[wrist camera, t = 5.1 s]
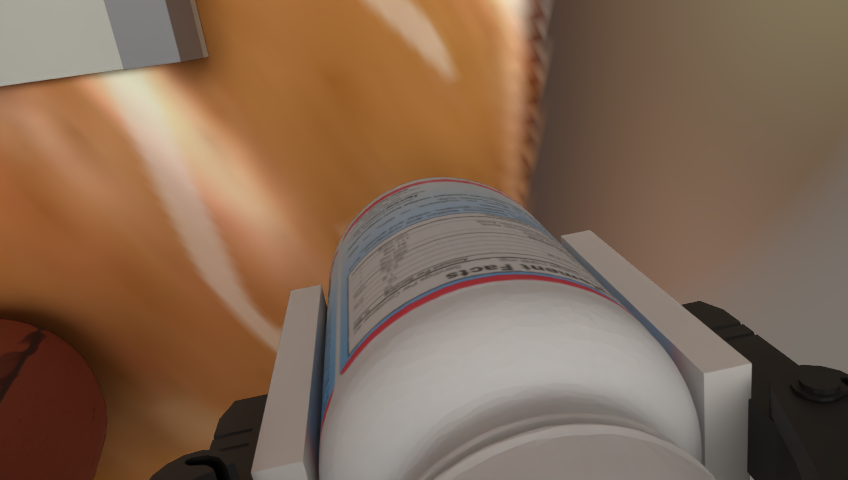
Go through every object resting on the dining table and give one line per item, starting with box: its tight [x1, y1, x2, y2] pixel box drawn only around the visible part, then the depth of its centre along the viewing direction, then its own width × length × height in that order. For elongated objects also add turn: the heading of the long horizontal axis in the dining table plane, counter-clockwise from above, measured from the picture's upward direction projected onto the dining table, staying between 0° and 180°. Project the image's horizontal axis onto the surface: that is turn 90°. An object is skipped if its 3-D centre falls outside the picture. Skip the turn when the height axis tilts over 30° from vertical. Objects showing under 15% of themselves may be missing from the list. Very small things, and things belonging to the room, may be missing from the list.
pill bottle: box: [319, 177, 716, 480], centre depth 12 cm, size 6×6×11 cm
